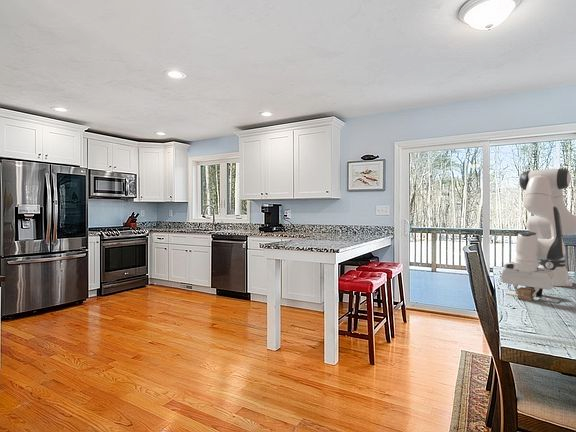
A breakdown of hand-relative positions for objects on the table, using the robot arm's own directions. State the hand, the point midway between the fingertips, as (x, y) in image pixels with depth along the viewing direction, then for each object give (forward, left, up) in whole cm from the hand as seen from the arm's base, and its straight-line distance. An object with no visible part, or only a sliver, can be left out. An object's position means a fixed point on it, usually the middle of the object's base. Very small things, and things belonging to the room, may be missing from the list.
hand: (525, 295), depth 168 cm
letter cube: (0, 0, -2) cm, 2 cm away
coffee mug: (-14, -1, -2) cm, 15 cm away
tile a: (-5, +8, -2) cm, 10 cm away
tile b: (-6, -6, -2) cm, 8 cm away
